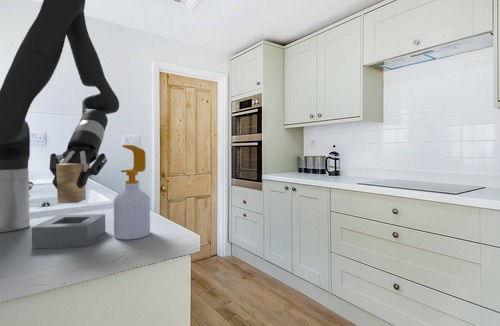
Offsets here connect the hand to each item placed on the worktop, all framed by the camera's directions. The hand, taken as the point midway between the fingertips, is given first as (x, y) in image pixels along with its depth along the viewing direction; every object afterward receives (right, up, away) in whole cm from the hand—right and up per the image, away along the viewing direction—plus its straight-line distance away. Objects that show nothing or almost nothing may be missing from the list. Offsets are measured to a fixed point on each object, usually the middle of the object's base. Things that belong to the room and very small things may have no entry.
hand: (68, 186), depth 69 cm
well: (-1, -14, +3) cm, 14 cm away
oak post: (0, -4, +2) cm, 5 cm away
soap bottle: (+13, -14, +7) cm, 20 cm away
